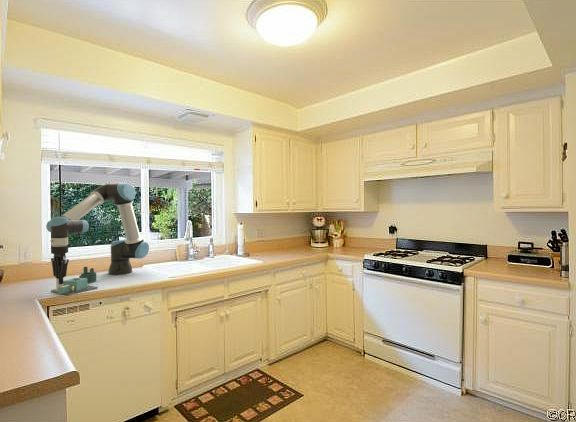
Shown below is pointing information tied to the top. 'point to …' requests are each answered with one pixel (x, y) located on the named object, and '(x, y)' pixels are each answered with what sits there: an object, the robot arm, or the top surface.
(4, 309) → the top surface
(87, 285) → the post plate
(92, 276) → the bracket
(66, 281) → the teal stepped block
